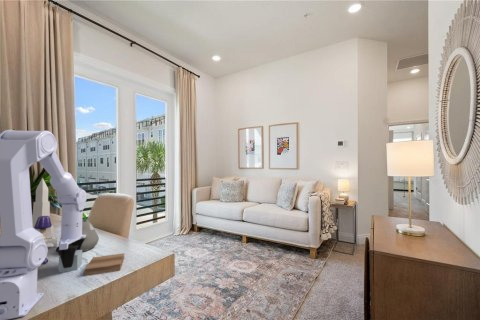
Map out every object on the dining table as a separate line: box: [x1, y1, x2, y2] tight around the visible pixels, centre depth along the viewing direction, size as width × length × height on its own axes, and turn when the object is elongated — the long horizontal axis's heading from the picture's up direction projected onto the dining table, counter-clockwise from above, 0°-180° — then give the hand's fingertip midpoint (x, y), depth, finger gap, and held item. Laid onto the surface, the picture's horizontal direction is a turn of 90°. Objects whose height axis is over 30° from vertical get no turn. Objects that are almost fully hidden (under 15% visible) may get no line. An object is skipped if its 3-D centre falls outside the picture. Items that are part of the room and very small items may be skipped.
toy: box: [58, 212, 100, 253], centre depth 92 cm, size 15×14×15 cm
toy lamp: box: [34, 216, 53, 266], centre depth 78 cm, size 5×5×17 cm
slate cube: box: [58, 250, 83, 274], centre depth 74 cm, size 5×5×5 cm
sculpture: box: [32, 177, 58, 248], centre depth 91 cm, size 7×8×30 cm
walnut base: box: [84, 253, 125, 277], centre depth 75 cm, size 10×10×2 cm
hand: (70, 263), depth 74 cm, fingers closed on slate cube, 5 cm apart
